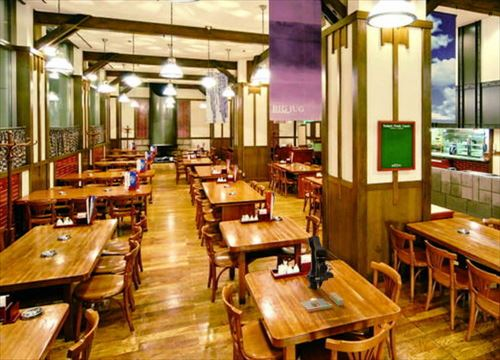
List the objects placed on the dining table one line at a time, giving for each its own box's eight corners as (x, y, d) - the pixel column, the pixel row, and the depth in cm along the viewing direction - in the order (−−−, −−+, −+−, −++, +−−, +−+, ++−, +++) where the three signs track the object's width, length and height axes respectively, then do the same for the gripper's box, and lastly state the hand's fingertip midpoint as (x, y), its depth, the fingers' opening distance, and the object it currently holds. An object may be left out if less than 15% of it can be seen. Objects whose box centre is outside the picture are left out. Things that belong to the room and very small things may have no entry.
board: (299, 303, 247) (299, 300, 246) (322, 299, 252) (322, 296, 252) (308, 313, 235) (308, 309, 234) (332, 308, 240) (332, 304, 240)
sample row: (328, 299, 253) (329, 293, 252) (334, 298, 254) (335, 292, 254) (337, 307, 242) (337, 300, 241) (343, 305, 244) (344, 299, 243)
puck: (309, 302, 247) (309, 298, 247) (315, 300, 249) (315, 297, 248) (312, 305, 243) (312, 302, 242) (319, 304, 244) (319, 300, 244)
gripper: (313, 273, 234) (313, 295, 236) (338, 269, 240) (337, 290, 242) (306, 266, 244) (305, 287, 247) (329, 263, 250) (329, 283, 253)
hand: (319, 287), depth 247 cm, fingers closed
